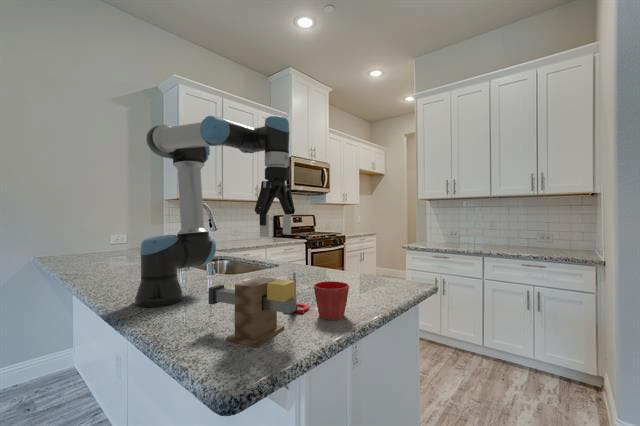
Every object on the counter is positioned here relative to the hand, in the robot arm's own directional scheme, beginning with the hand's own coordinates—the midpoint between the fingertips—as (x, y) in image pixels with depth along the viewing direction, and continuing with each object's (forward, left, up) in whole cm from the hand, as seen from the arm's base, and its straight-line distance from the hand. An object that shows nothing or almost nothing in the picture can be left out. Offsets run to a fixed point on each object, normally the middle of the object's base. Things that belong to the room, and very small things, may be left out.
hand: (276, 235), depth 96 cm
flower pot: (+16, +6, -25) cm, 30 cm away
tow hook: (+3, +7, -25) cm, 26 cm away
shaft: (+2, -16, -18) cm, 24 cm away
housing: (+4, -16, -25) cm, 30 cm away
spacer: (+12, -16, -14) cm, 24 cm away
